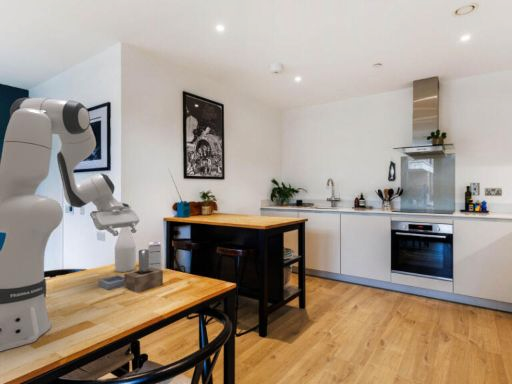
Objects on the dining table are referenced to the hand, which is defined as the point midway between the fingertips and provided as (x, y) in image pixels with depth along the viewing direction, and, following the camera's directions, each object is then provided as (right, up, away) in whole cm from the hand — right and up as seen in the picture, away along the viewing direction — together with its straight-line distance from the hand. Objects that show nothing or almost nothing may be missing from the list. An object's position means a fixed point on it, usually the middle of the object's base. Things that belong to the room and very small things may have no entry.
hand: (125, 233), depth 129 cm
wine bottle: (-9, -21, +21) cm, 31 cm away
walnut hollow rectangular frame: (+9, -21, -4) cm, 24 cm away
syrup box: (+7, -21, +16) cm, 28 cm away
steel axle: (+9, -21, -4) cm, 24 cm away
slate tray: (-4, -21, -3) cm, 22 cm away
